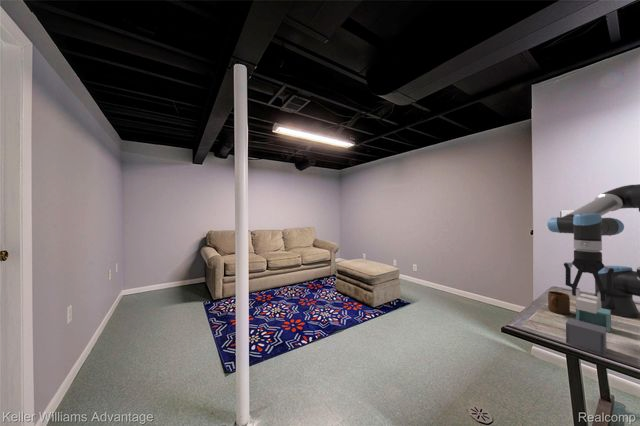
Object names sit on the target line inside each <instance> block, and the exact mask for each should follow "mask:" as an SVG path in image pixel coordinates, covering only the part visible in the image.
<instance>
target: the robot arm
mask: <svg viewBox="0 0 640 426" xmlns="http://www.w3.org/2000/svg"><path fill="white" fill-rule="evenodd" d="M621 209H638V212H639V213H640V184H628V185H623V186H619V187H616V188H612V189H610V190H608V191H605V192H603V193H601V194H599V195H597V196H596V197H595V198H594V200H592V201H591V202H588V203H587V204H585V205H583V206H581V207H579V208H577V209H575V210H574V211H571V212H569V213H567V214H565V215H564V216H557V217H551V218H549V219H548V221H547V224H546V225H547V226H546V227H547V229H548V230H549V231H550V232H552V233H558V234H571V235H572V234H573V249H574V250H573V260H572V261H570V262H564V263H563V266H564V269H565V285H566V286H567V287H570V288H571V295H572V296H575V305H577V298H578V297H579V296H580V295H581V294H580V292H581V291H580V288H579V287H578V285H579V282H580V280H581V278H582V276H583V273H584V274H585V273H586V274H587V273H588V274H592V276H593V278H594V287H595V288H594V289H595V290H594V291H595V292H594V294H593V296H596V297H597V301H598V309H600V310H601V308H603V309H607V310H611V315H612V316H613V315H614V316H618V317H619V316H620V317H624V316H627V317H626V318H638V316H639V317H640V311H639V310H638V307H637V305H636V303H635V301H634V299H633V296H636V297H640V266H639V267H637V268H636V271H635V270H634V269H633V268H632V267H630V266H624V265H623V266H622V265H605V264H604V263H603V253H602V252H601V251H602V250H603V241H602V239H603V238H602V237H604V236H609V237H611V236H616V235H619V234H620V233H622V232H623V231H624V229H625V224H624V223H623V222H622V221H621V220H619V219H618V218H615V217H614V218H613V217H602V216H604V215H606V214H607V213H609V212H616V211H618V210H621ZM573 266H574V267H575V268H576V269H577V271H576V272H577V273H576V275H575V277H574V281H573V283H572V281H571V280H572V279H571V278H572V277H571V275H572V274H571V273H572V267H573Z"/></svg>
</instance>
